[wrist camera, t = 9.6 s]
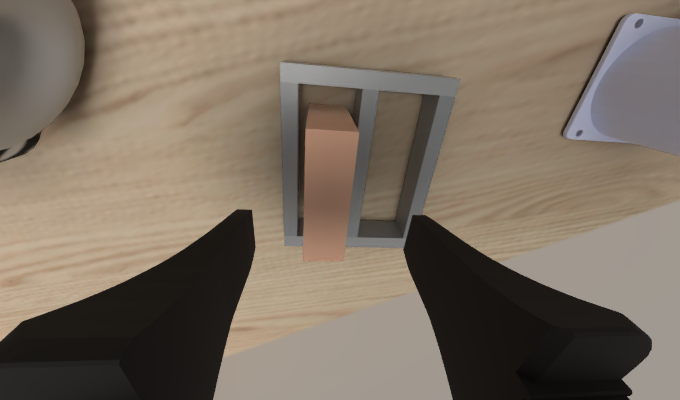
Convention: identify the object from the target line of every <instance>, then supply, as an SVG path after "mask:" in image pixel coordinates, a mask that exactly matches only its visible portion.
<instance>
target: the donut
mask: <svg viewBox="0 0 680 400" xmlns="http://www.w3.org/2000/svg"><path fill="white" fill-rule="evenodd" d="M84 50H85V39H84V35H83V31H82V27H81V23H80V19H79V15H78V13H77V10H76V8H75V6H74V4H73V3H72V1H71V0H0V150H4V149H7V148H9V147H12V146H14V145H16V144H18V143H21V142H23V141H25V140H27V139H29V138H32V137H33V136H35V135H36V134H37V133H39V132H40V131H41V130H43V129H44V128H45V127H47V126H48V125H49V124H51V123H52V122H53V121H54V120H55V119H56V117H57V116H58V115H59V114H60V113H61V112H62V110H63V109H64V108H65V107H66V106H67V105H68V103H69V101H70V99H71V97H72V96H73V94H74V92H75V90H76V88H77V86H78V84H79V80H80V77H81V73H82V69H83V66H84Z"/></svg>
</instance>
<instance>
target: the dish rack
mask: <svg viewBox="0 0 680 400" xmlns="http://www.w3.org/2000/svg"><path fill="white" fill-rule="evenodd" d="M459 82H460V79H457V78H452V77H446V76H438V75H428V74H417V73H407V72H396V71H385V70H375V69H364V68H354V67H343V66H333V65H322V64H311V63H301V62H290V61H282V62H280V91H281V131H282V170H283V209H284V246H303V228H304V219H301V218H299V174H300V84H311V85H323V86H335V87H346V88H357V90H356V100H355V109H354V118H353V121H354V123H355V125H356V127H357V129H358V131H359V140H358V148H357V156H356V164H355V172H354V180H353V188H352V196H351V205H350V213H349V221H348V229H347V237H346V245H345V247H380V248H404V245H405V241H406V237H407V234H408V230H409V226H410V222H411V219H412V215H422V211H423V208H424V204H425V201H426V197H427V194H428V190H429V187H430V183H431V180H432V176H433V173H434V169H435V166H436V162H437V159H438V156H439V152H440V149H441V145H442V142H443V138H444V135H445V131H446V128H447V124H448V121H449V117H450V114H451V110H452V107H453V103H454V100H455V96H456V93H457V89H458V86H459ZM379 90H381V91H393V92H405V93H416V94H424V97H423V101H422V106H421V110H420V115H419V119H418V123H417V128H416V132H415V136H414V141H413V145H412V149H411V154H410V158H409V162H408V167H407V171H406V175H405V180H404V184H403V188H402V193H401V197H400V201H399V206H398V210H397V214H396V219H395V221H371V220H360V217H361V210H362V203H363V197H364V190H365V183H366V176H367V170H368V163H369V156H370V150H371V143H372V136H373V130H374V123H375V116H376V109H377V103H378V96H379Z"/></svg>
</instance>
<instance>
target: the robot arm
mask: <svg viewBox="0 0 680 400" xmlns="http://www.w3.org/2000/svg"><path fill="white" fill-rule="evenodd" d="M636 22H637V23H636ZM635 23H636V25H635ZM577 131H578V133H577ZM576 133H577V134H576ZM563 136H564V137H565V138H568V139H576V140H590V141H605V142H619V143H633V144H637V145H641V146H644V147H648V148H651V149H655V150H658V151H662V152H665V153H669V154H673V155H676V156H680V19H676V18H668V17H661V16H654V15H646V14H639V13H634V14H628V15H626V16H625V17H624V18H622V20H621V21H620V23H619V25H618V27H617V29H616V31H615V32H614V34H613V36H612V38H611V40H610V42H609V44H608V46H607V48H606V50H605V52H604V54H603V56H602V58H601V60H600V62H599V64H598V66H597V68H596V70H595V71H594V73H593V75H592V77H591V79H590V81H589V83H588V85H587V87H586V89H585V91H584V93H583V95H582V97H581V99H580V101H579V103H578V105H577V107H576V109H575V111H574V112H573V114H572V116H571V118H570V120H569V122H568V124H567V126H566V128H565V130H564V132H563ZM403 250H404V254H405V258H406V262H407V265H408V268H409V271H410V273H411V276H412V278H413V280H414V283H415V285H416V287H417V290H418V292H419V294H420V296H421V299H422V301H423V303H424V305H425V308H426V310H427V313H428V315H429V318H430V320H431V324H432V327H433V330H434V333H435V336H436V339H437V342H438V346H439V349H440V352H441V356H442V360H443V363H444V367H445V371H446V374H447V378H448V382H449V386H450V390H451V394H452V397H453V400H629V398H628V397H627V396H630V395H631V394H632V390H631V389H630V388H629V387H628V386H627V385H626V384H625V382H624V381H623V380H622V378H623V377H624V376H626V375H627V374H628V373H629V372H630V371H631V370H633V369H634V368H635V367H636V366H637V365H639V364H640V363H641V362H642V361H643V360H644V359H645V358H646V357H647V356H648V355H649V352H650V351H651V349H652V348H651V347H652V340H651V339H650V337H649V336H648V335H647V334H646V333H645V332H643V331H642V330H641V329H640V328H639V327H638V326H636V325H635V324H634V323H633V322H632V321H631V320H629V319H628V318H627V317H626V316H624V315H623V314H621V313H619V312H616V311H613V310H610V309H607V308H604V307H601V306H598V305H595V304H592V303H589V302H586V301H583V300H581V299H578V298H575V297H573V296H570V295H567V294H565V293H562V292H560V291H557V290H555V289H552V288H550V287H548V286H545V285H543V284H540V283H538V282H536V281H534V280H532V279H530V278H527V277H525V276H523V275H520V274H519V273H517V272H515V271H513V270H511V269H509V268H507V267H505V266H503V265H502V264H500V263H498V262H496V261H494V260H492V259H491V258H489V257H487V256H486V255H484V254H482V253H481V252H479V251H478V250H476V249H474V248H473V247H471V246H470V245H468V244H467V243H465V242H464V241H462V240H461V239H459V238H458V237H456V236H455V235H454V234H452V233H451V232H449V231H448V230H447V229H445V228H444V227H442V226H441V225H439V224H438V223H437V222H435V221H434V220H432V219H431V218H429V217H427V216H426V215H412V219H411V222H410V226H409V230H408V234H407V237H406V241H405V245H404V249H403ZM254 252H255V237H254V227H253V217H252V210H239V209H237V210H236V211H234V212H233V213H232V214H231V215H229V216H228V217H227V218H226V219H224V220H223V221H222V222H221V223H219V224H218V225H217V226H216V227H214V228H213V229H212V230H210V231H209V232H208V233H207V234H205V235H204V236H202V237H201V238H199V239H198V240H197V241H195V242H194V243H192V244H191V245H189V246H188V247H187V248H185V249H184V250H182V251H180V252H179V253H177V254H176V255H174V256H172V257H171V258H169V259H167V260H165V261H164V262H162V263H160V264H159V265H157V266H155V267H153V268H151V269H149V270H147V271H145V272H143V273H141V274H139V275H137V276H135V277H133V278H131V279H129V280H127V281H125V282H123V283H121V284H118V285H116V286H114V287H112V288H109V289H107V290H105V291H102V292H100V293H98V294H95V295H93V296H90V297H88V298H86V299H83V300H80V301H78V302H75V303H73V304H70V305H67V306H64V307H62V308H59V309H56V310H53V311H51V312H48V313H45V314H42V315H40V316H37V317H34V318H31V319H28V320H25V321H23V322H21V323H20V324H19V325H18V326H17V327H16V328H15V329H14V330H13V331H12V332H10V333H9V334H8V335H7V336H6V337H5V338H4V339H3V340H2V341H1V342H0V400H213V397H214V392H215V388H216V383H217V379H218V374H219V370H220V366H221V362H222V358H223V353H224V349H225V345H226V341H227V337H228V333H229V329H230V326H231V322H232V319H233V316H234V313H235V310H236V307H237V305H238V302H239V299H240V297H241V294H242V291H243V288H244V286H245V283H246V280H247V277H248V275H249V272H250V269H251V265H252V261H253V257H254Z"/></svg>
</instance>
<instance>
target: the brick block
mask: <svg viewBox="0 0 680 400" xmlns="http://www.w3.org/2000/svg"><path fill="white" fill-rule="evenodd" d="M358 140H359V131H358V129H357V127H356V125H355V123H354V121H353V119H352V118H351V116H350V114H349V112H348V110H347V108H346V107H345V106H339V105H327V104H314V103H309V109H308V115H307V122H306V129H305V178H304V228H303V261H344V253H345V245H346V237H347V229H348V221H349V213H350V205H351V196H352V188H353V180H354V172H355V164H356V156H357V148H358Z"/></svg>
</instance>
